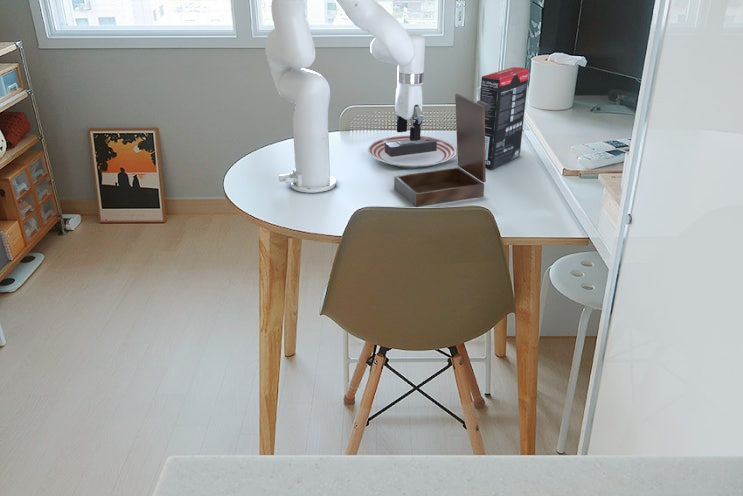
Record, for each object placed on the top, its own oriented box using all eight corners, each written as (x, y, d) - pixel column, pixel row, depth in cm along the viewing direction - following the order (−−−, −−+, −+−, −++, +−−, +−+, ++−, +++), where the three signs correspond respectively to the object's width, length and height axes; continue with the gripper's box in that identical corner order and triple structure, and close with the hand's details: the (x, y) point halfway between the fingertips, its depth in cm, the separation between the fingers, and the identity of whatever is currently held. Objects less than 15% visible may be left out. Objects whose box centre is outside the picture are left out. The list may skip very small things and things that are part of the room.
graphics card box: (502, 152, 222) (509, 65, 211) (522, 157, 218) (530, 68, 207) (473, 166, 211) (478, 74, 199) (494, 171, 207) (500, 78, 195)
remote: (390, 157, 209) (390, 146, 208) (384, 152, 213) (384, 141, 212) (436, 151, 214) (437, 140, 213) (429, 146, 218) (429, 136, 217)
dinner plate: (472, 166, 211) (473, 155, 210) (388, 178, 202) (388, 167, 201) (432, 141, 234) (432, 131, 233) (355, 151, 225) (354, 141, 224)
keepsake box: (415, 210, 181) (416, 194, 179) (394, 191, 193) (394, 176, 191) (483, 199, 187) (484, 184, 185) (458, 181, 199) (458, 167, 198)
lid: (481, 106, 176) (500, 103, 177) (455, 94, 188) (472, 90, 189) (483, 182, 185) (500, 178, 186) (457, 165, 197) (474, 162, 199)
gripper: (387, 73, 210) (385, 129, 217) (410, 85, 195) (408, 144, 202) (410, 72, 212) (408, 127, 220) (435, 83, 198) (431, 142, 205)
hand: (408, 136), depth 211 cm, fingers open, 9 cm apart
